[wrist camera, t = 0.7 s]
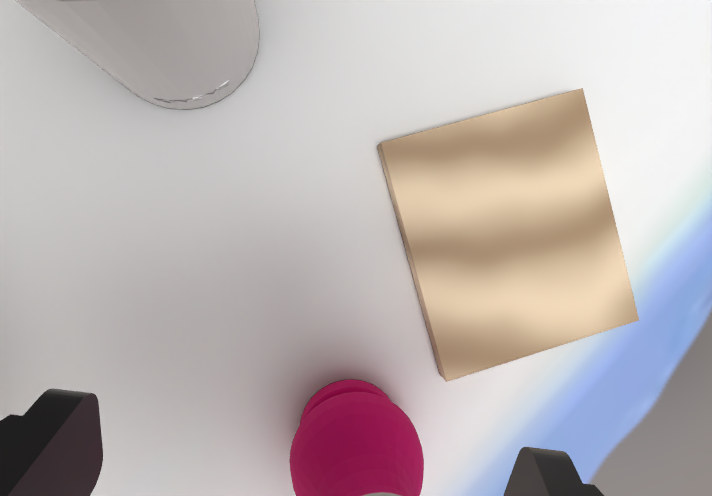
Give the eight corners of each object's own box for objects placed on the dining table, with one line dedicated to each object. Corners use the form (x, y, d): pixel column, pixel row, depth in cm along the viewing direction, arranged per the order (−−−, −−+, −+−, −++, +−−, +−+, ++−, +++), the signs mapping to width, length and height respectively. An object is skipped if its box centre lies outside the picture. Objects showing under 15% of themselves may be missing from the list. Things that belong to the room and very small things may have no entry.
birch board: (377, 146, 31) (381, 142, 29) (569, 94, 32) (582, 88, 30) (439, 374, 32) (446, 381, 30) (623, 315, 33) (639, 320, 31)
